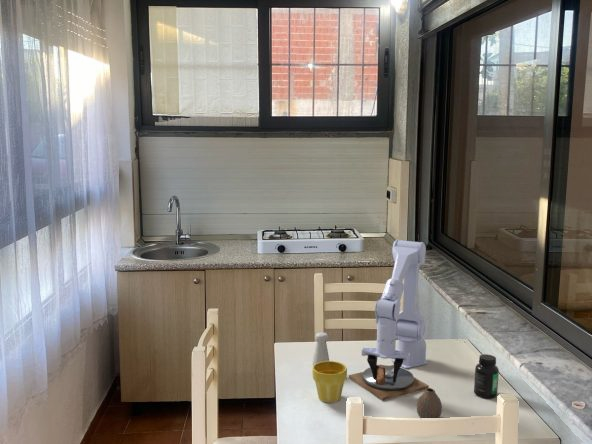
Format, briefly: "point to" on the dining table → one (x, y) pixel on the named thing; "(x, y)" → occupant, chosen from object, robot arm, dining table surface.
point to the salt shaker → (321, 348)
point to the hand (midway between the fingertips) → (384, 379)
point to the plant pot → (329, 380)
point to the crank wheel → (388, 378)
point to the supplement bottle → (486, 377)
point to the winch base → (388, 394)
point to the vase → (429, 404)
